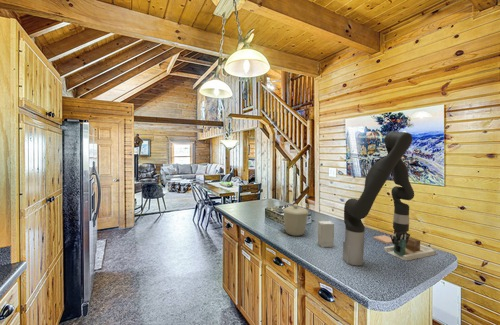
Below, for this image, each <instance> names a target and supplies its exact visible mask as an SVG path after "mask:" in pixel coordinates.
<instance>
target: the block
mask: <svg viewBox="0 0 500 325" xmlns="http://www.w3.org/2000/svg"><path fill="white" fill-rule="evenodd" d="M420 244H421V240H420V239H417V238H415V237H411V236H410V237H409V240H408V242H407V244H406V249H409V250H411V251H413V252H415V251H420Z"/></svg>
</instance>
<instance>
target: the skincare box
mask: <svg viewBox="0 0 500 325" xmlns="http://www.w3.org/2000/svg"><path fill="white" fill-rule="evenodd" d="M317 223H318V224H317V225H318V227H317V231H318V232H317V244H318V245H319V246H320V248H334V247H335V246H334V245H335V242H334V241H335V223H334V222H333V221H332V220H320V221H319V220H318V222H317Z"/></svg>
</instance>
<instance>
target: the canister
mask: <svg viewBox="0 0 500 325" xmlns="http://www.w3.org/2000/svg"><path fill="white" fill-rule="evenodd" d="M282 211H283V220H284V221H283V222H284V229H285V232H286V233H287V235H290V236H293V237H294V236H295V237H300V236H303V235H304V234H305V232H306V227H307V221H308V220H307V219H308V214H309V210H308V209H306V208H304V207H301V206H299V205H298V204H297V203H294V204H293V205H292V206H287V207H285V208H283V209H282Z"/></svg>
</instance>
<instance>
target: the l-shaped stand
mask: <svg viewBox="0 0 500 325" xmlns="http://www.w3.org/2000/svg"><path fill="white" fill-rule="evenodd" d="M398 240H399V239H398ZM397 242H398V241H397ZM393 245H394V248H393V251H394V253H396V254H398V255H401V256H403V255H408V254H412V253H417V252H422V250H420V251H415V252H413V251H411V250H409V249H406V240H405V239H402V242H401V243H400V252H396V251H395V244H393Z"/></svg>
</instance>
